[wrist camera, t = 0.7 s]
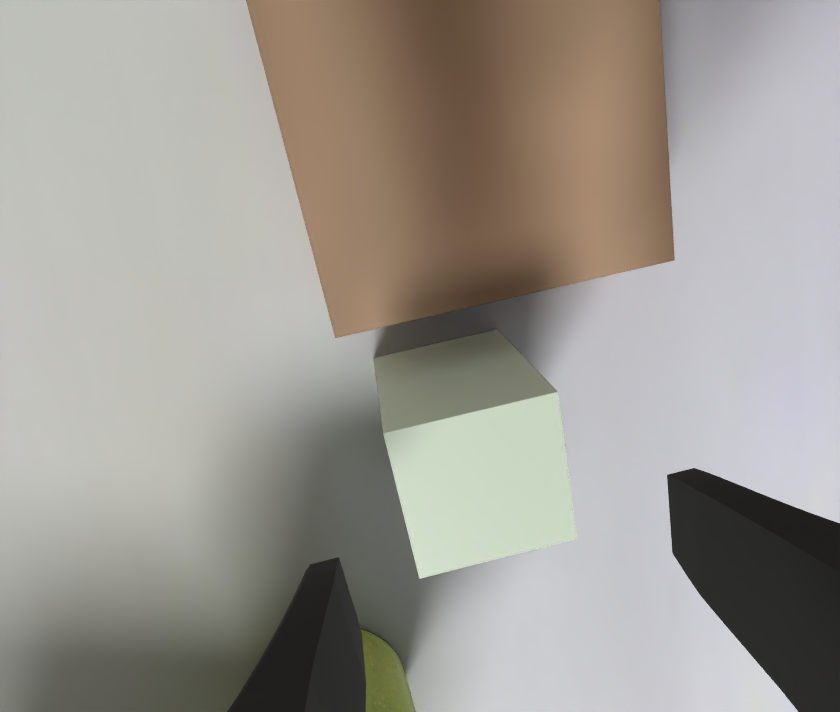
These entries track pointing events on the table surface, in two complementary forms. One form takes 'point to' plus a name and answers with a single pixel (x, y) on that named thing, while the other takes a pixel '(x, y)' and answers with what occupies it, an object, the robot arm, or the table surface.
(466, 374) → the sage block
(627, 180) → the walnut slab
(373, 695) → the plant pot
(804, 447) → the table surface
